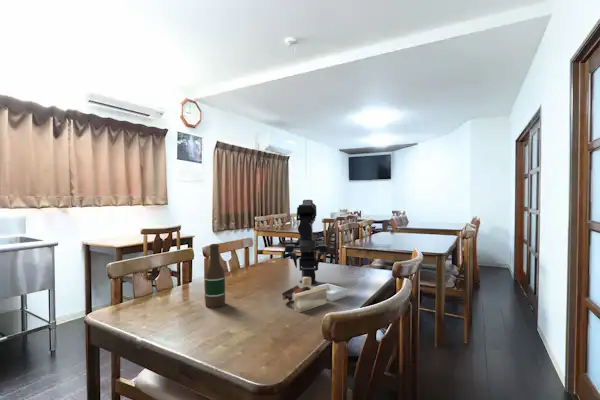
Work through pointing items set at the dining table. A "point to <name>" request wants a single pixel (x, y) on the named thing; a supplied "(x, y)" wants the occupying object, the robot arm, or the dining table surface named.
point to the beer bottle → (214, 280)
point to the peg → (306, 282)
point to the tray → (333, 292)
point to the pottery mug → (295, 289)
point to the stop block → (309, 299)
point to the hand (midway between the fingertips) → (306, 267)
